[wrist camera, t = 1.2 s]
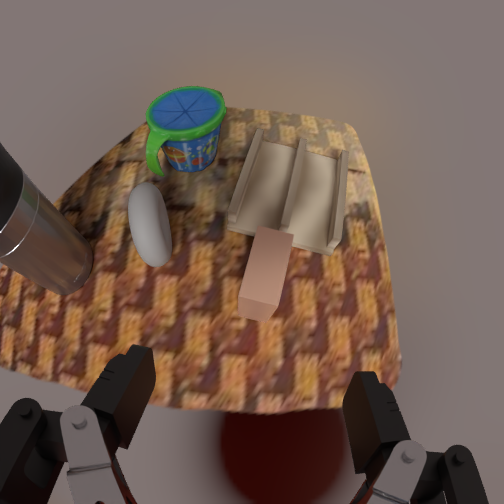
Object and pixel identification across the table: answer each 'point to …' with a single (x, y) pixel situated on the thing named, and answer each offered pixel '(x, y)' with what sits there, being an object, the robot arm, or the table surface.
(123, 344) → the table surface
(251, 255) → the pink rectangular block
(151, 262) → the grey ring
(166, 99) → the snack cup
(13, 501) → the robot arm
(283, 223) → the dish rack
